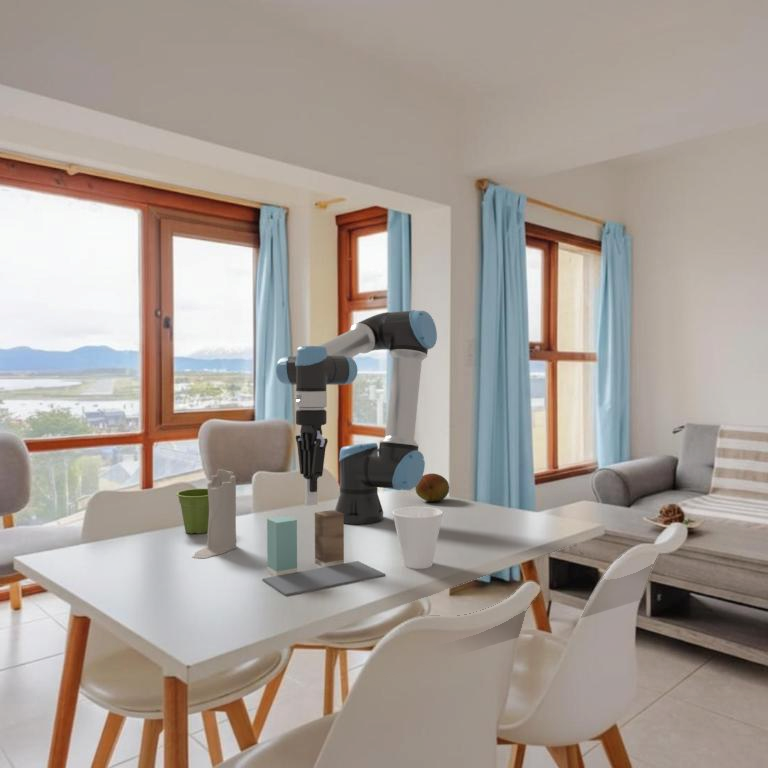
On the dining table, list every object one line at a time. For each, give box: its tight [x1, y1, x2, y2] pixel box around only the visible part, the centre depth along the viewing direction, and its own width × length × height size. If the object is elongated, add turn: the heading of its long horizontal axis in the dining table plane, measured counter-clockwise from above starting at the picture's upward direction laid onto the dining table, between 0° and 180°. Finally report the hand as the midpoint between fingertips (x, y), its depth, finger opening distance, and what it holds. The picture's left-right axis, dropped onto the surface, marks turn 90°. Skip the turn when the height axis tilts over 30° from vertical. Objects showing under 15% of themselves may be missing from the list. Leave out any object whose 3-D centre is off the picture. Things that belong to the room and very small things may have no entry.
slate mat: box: [261, 560, 386, 597], centre depth 143 cm, size 12×24×1 cm, turn 123°
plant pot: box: [176, 488, 209, 535], centre depth 187 cm, size 12×12×11 cm
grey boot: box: [192, 468, 237, 559], centre depth 166 cm, size 7×14×20 cm, turn 160°
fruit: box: [414, 473, 450, 503], centre depth 229 cm, size 12×12×10 cm
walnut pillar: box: [314, 509, 345, 568], centre depth 154 cm, size 5×5×12 cm
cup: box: [392, 506, 444, 570], centre depth 153 cm, size 12×12×12 cm
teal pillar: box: [266, 515, 298, 577], centre depth 148 cm, size 5×5×12 cm
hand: (310, 504), depth 161 cm, fingers closed
